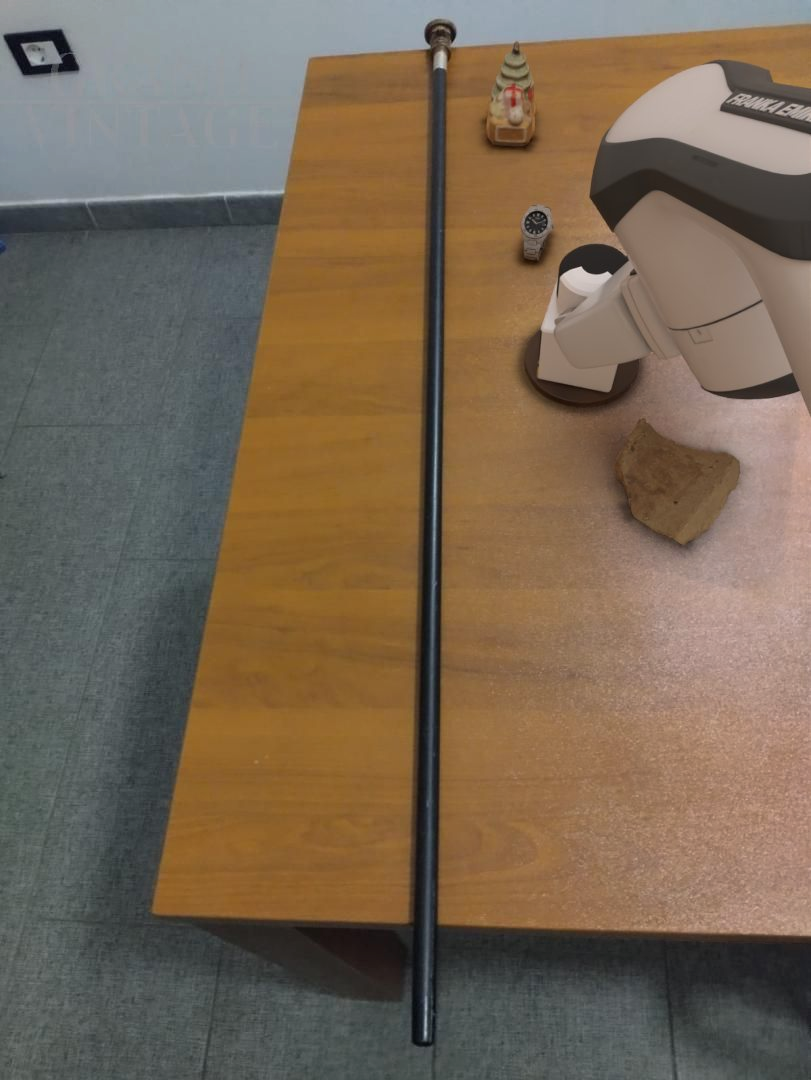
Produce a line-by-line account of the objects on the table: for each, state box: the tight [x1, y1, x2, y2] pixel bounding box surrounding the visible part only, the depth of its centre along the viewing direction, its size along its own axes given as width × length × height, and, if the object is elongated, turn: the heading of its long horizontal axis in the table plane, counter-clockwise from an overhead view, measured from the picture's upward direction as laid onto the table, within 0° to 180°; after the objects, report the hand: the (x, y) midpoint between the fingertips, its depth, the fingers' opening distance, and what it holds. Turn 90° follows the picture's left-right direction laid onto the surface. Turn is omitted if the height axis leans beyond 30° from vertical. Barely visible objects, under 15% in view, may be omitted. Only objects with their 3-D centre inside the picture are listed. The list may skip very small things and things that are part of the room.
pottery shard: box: [612, 417, 742, 546], centre depth 65 cm, size 11×4×10 cm
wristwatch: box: [520, 204, 555, 261], centre depth 80 cm, size 4×6×5 cm, turn 162°
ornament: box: [485, 40, 537, 147], centre depth 87 cm, size 8×6×10 cm
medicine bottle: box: [537, 243, 629, 392], centre depth 67 cm, size 7×7×12 cm
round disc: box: [524, 328, 641, 408], centre depth 73 cm, size 11×11×1 cm
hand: (596, 293), depth 66 cm, fingers open, 8 cm apart
